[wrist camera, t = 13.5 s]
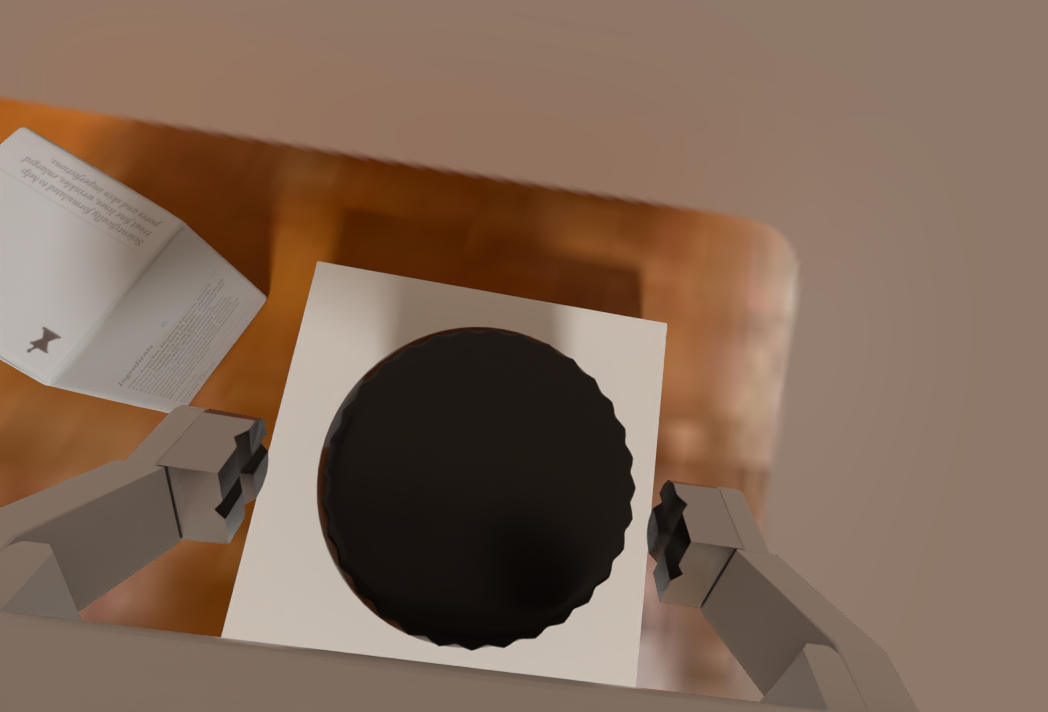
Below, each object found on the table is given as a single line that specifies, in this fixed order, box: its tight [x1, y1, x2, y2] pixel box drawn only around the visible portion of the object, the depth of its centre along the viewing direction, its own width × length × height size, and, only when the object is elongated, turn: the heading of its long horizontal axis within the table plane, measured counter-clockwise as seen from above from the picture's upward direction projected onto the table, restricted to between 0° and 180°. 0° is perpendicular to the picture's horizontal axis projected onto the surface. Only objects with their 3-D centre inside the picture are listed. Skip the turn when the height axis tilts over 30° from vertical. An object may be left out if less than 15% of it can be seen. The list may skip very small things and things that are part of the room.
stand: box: [221, 261, 667, 687], centre depth 21 cm, size 14×14×3 cm
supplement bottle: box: [317, 327, 636, 651], centre depth 14 cm, size 7×7×12 cm
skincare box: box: [0, 127, 267, 413], centre depth 19 cm, size 6×6×7 cm
